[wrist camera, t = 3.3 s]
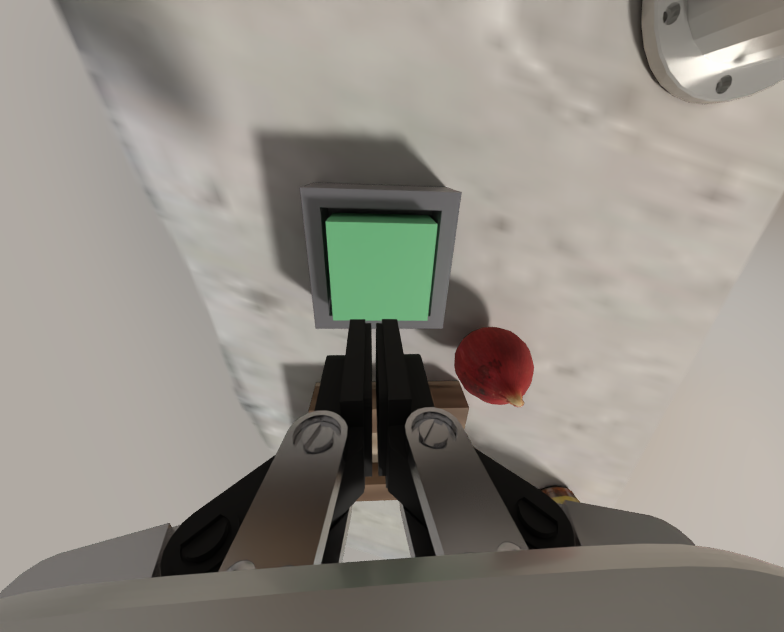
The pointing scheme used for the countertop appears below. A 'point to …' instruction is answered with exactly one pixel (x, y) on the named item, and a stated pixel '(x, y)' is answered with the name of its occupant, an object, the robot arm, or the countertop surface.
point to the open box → (443, 397)
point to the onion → (494, 366)
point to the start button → (380, 265)
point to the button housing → (378, 200)
